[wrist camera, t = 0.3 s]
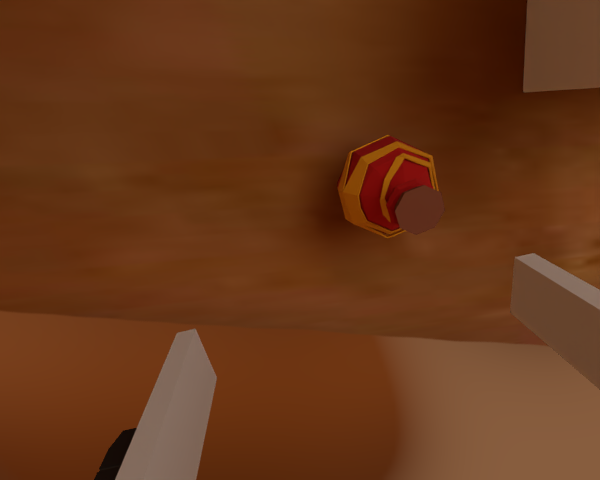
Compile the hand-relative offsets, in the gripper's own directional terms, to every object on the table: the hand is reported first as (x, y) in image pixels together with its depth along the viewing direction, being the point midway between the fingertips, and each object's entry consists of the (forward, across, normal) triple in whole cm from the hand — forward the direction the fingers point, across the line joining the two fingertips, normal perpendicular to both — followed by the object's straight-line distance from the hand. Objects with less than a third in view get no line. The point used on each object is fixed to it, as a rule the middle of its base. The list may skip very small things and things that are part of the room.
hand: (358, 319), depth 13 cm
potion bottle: (+28, +8, -1) cm, 29 cm away
